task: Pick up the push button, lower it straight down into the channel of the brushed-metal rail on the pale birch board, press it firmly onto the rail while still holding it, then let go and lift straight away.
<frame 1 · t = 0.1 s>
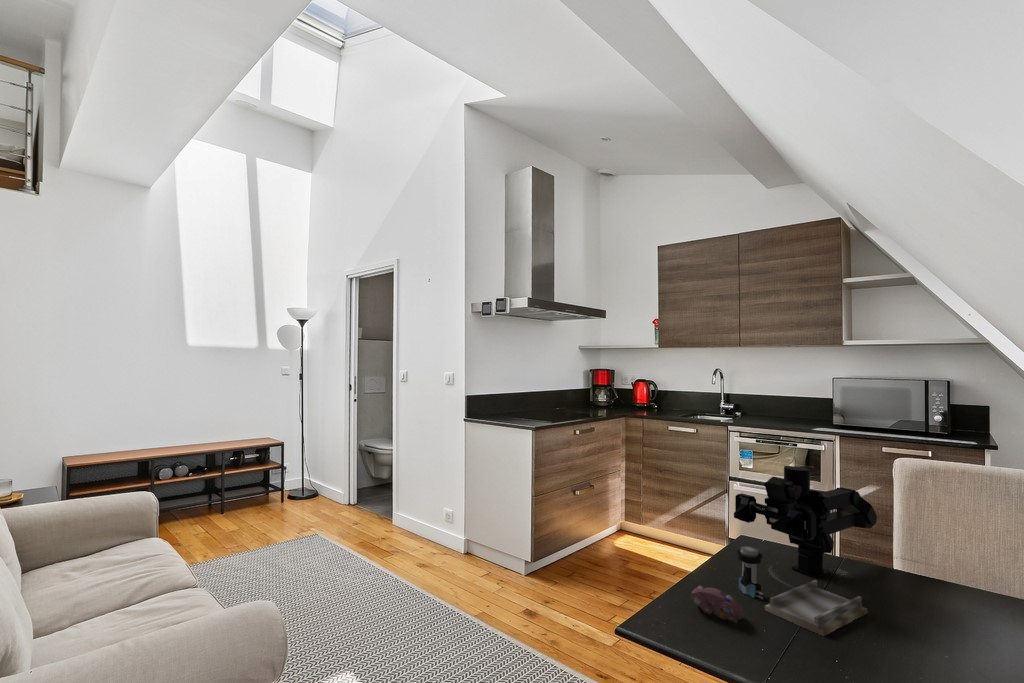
hand: (752, 520, 119), 17 cm above the table, tool horizontal, fingers open, 9 cm apart
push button: (751, 595, 119), on the table
rail board: (815, 611, 111), on the table
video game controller: (716, 616, 109), on the table
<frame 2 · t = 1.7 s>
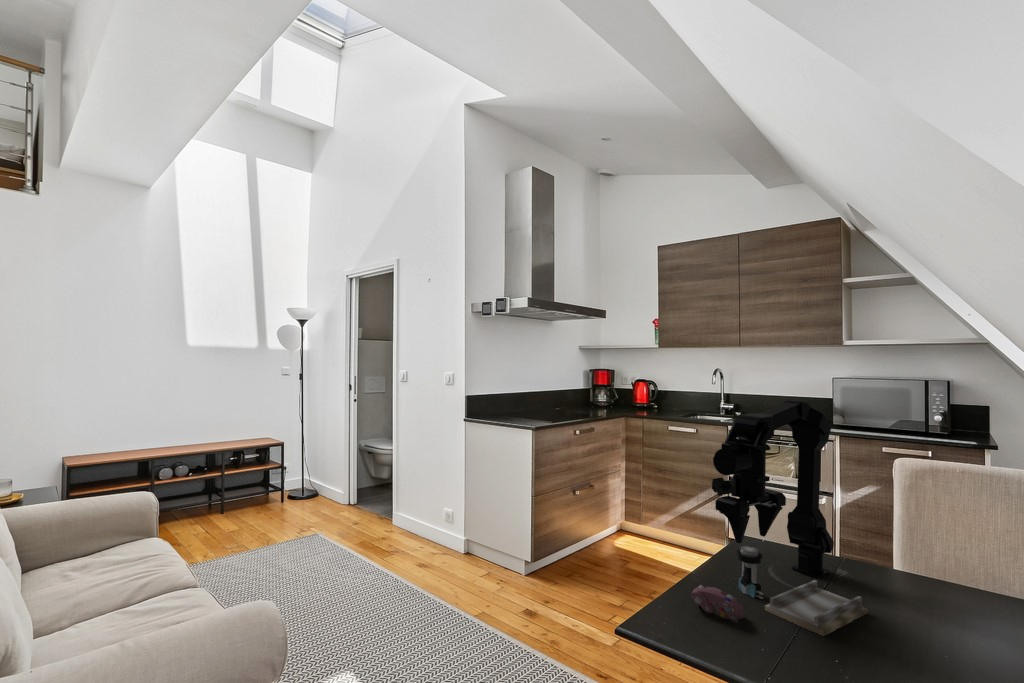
hand: (750, 539, 119), 12 cm above the table, tool pointing down, fingers open, 9 cm apart
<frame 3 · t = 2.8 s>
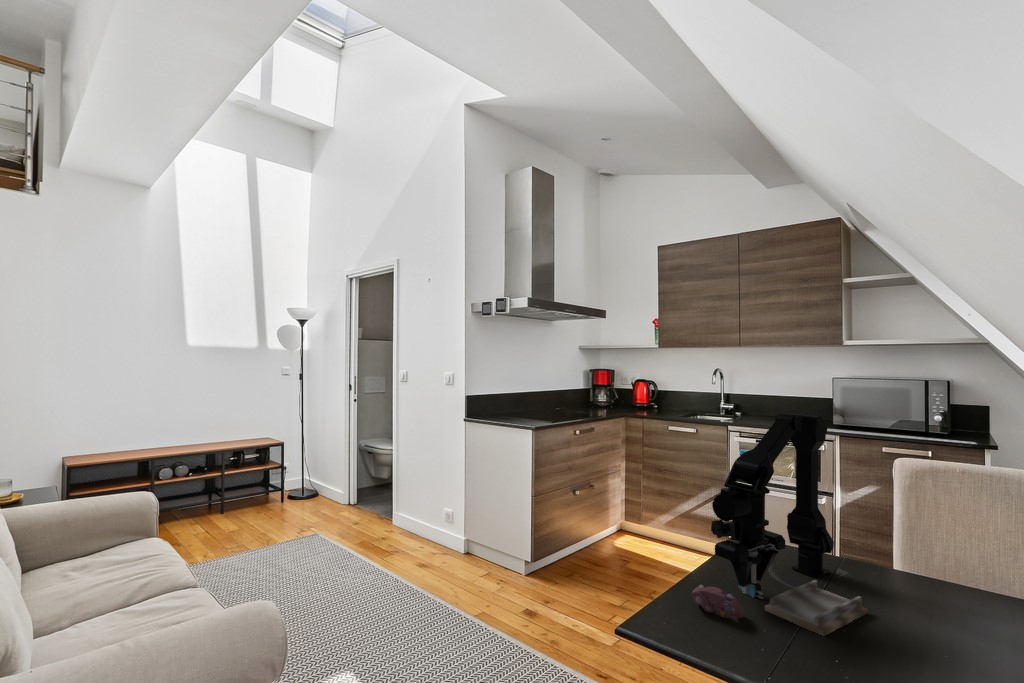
hand: (750, 583, 119), 3 cm above the table, tool pointing down, fingers open, 6 cm apart
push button: (751, 595, 119), on the table, touching gripper
everything else where it was.
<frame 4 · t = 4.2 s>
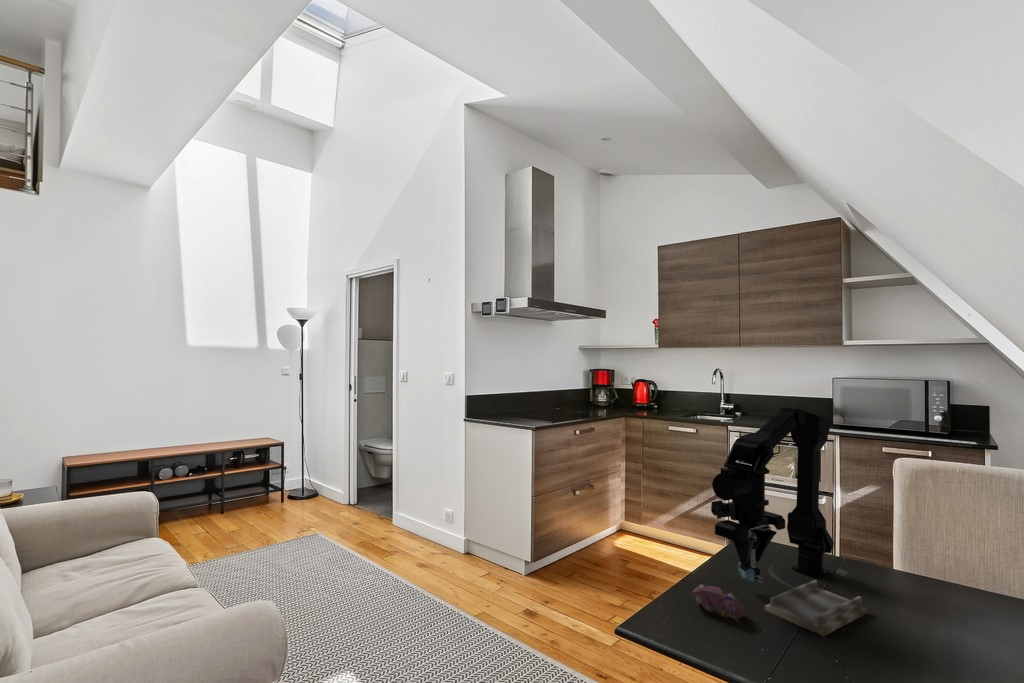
hand: (750, 563, 119), 7 cm above the table, tool pointing down, fingers closed on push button, 4 cm apart
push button: (750, 579, 119), point 3 cm above the table, touching gripper
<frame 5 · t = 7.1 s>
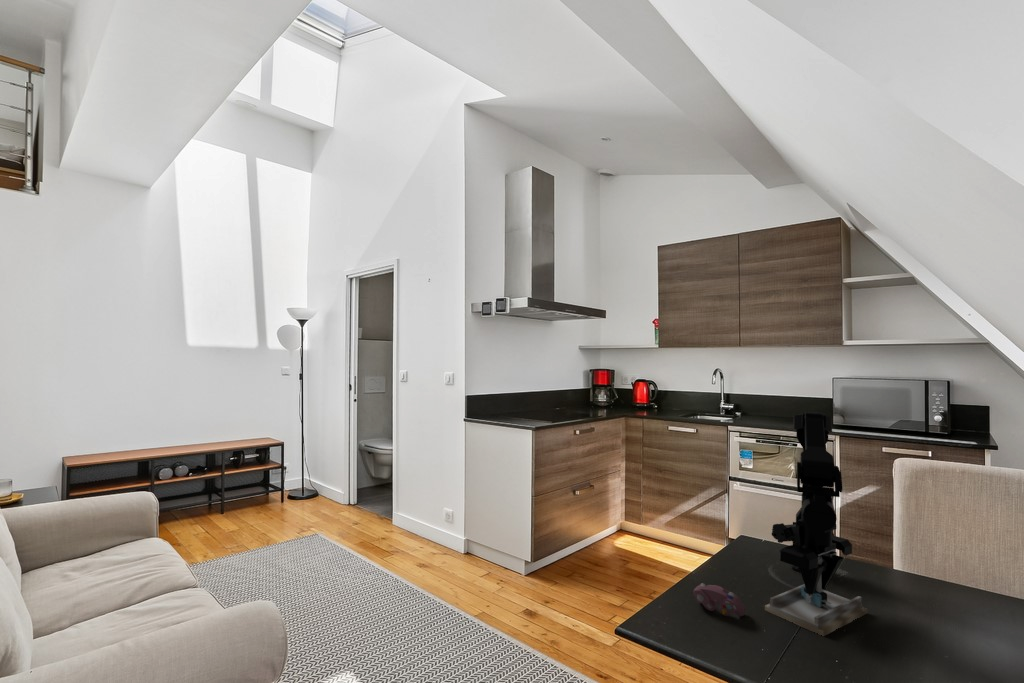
hand: (816, 591, 111), 4 cm above the table, tool pointing down, fingers closed on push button, 4 cm apart
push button: (816, 604, 112), point 1 cm above the table, touching gripper, rail board
when the fingers open (4 cm above the table, at t = 8.9 s): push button stays where it is, resting on rail board.
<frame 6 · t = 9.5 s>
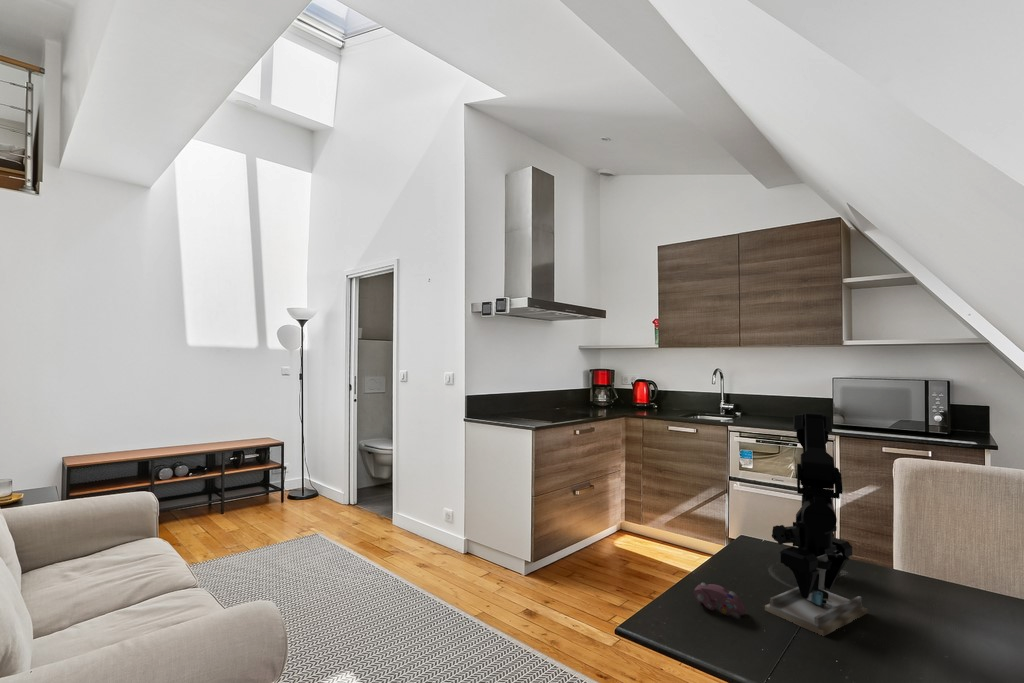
hand: (816, 592, 111), 4 cm above the table, tool pointing down, fingers open, 9 cm apart
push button: (816, 603, 112), point 2 cm above the table, touching gripper, rail board
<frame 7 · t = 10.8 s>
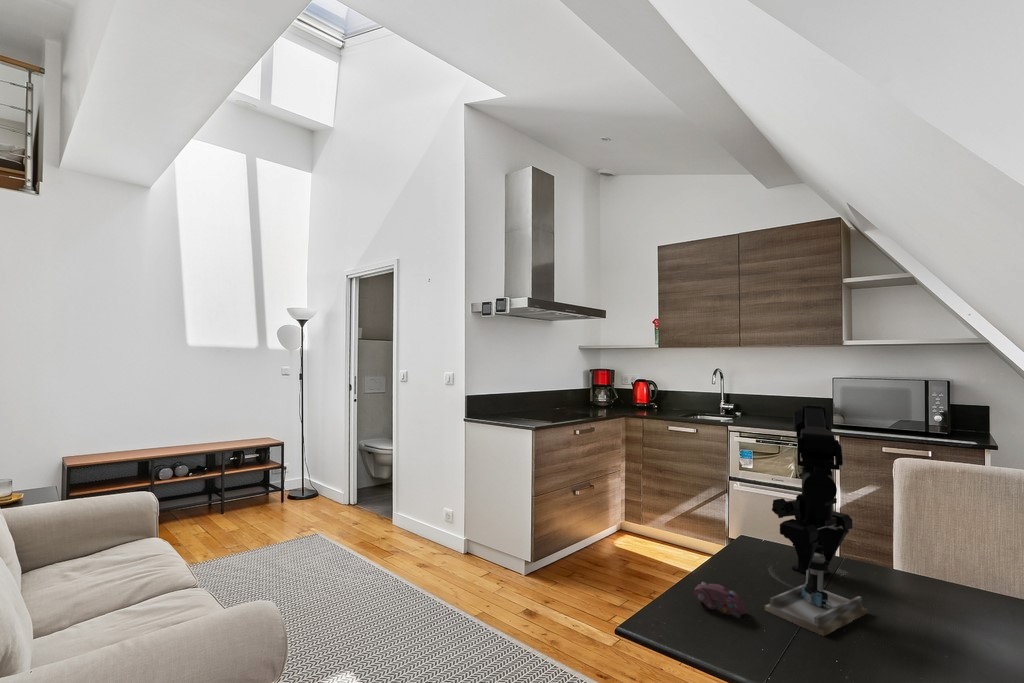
hand: (816, 565, 111), 10 cm above the table, tool pointing down, fingers open, 9 cm apart
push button: (816, 604, 112), point 1 cm above the table, touching rail board
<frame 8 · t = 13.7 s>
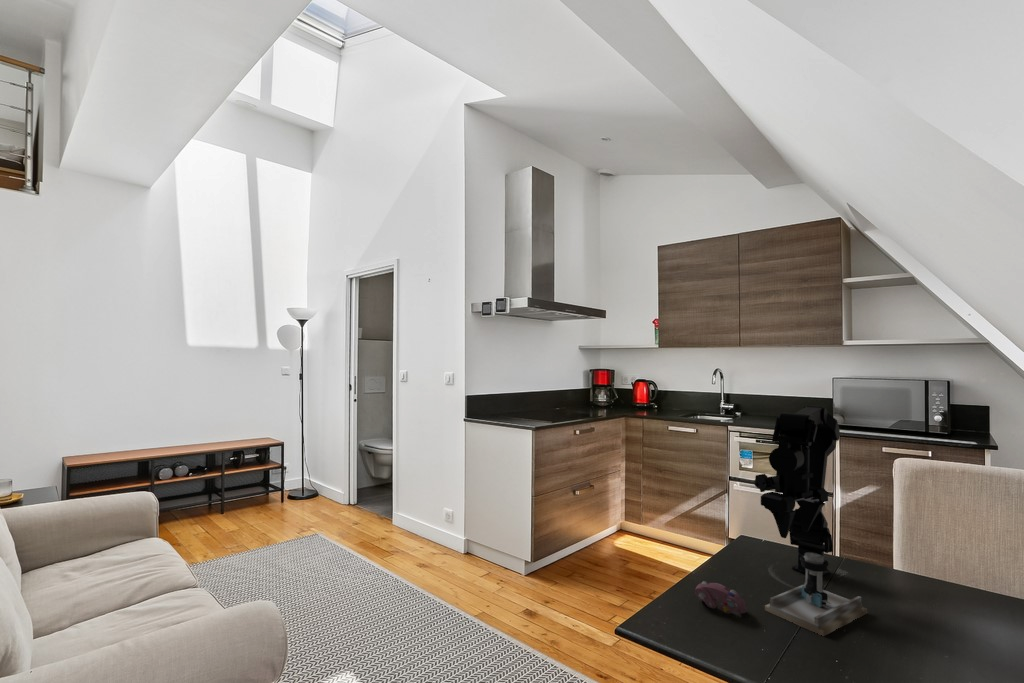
hand: (794, 534, 122), 13 cm above the table, tool pointing down, fingers open, 9 cm apart
at the end: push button inside the target area on the rail board (0.5 cm from its centre), point 1.3 cm above the rail board's base; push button tilted 0°; the gripper is holding nothing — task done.
